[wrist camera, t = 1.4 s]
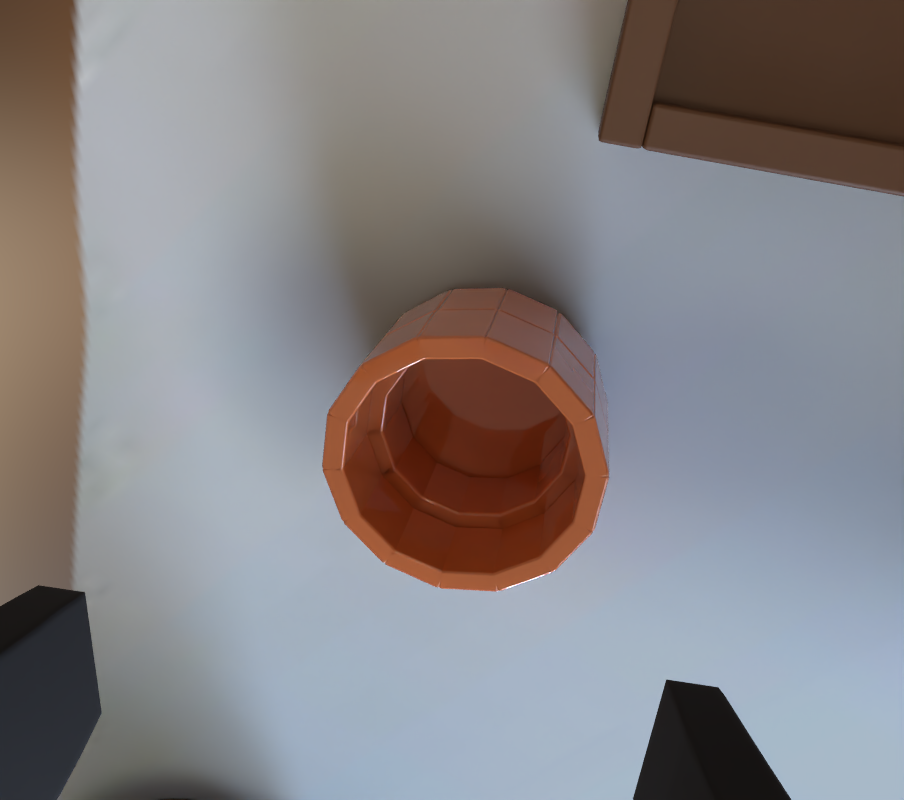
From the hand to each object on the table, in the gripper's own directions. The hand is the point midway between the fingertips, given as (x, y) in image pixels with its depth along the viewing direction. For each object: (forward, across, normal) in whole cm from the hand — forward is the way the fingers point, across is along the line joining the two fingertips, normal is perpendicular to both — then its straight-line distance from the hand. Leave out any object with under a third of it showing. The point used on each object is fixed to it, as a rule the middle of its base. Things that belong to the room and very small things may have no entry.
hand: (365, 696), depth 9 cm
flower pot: (+10, -1, 0) cm, 10 cm away
